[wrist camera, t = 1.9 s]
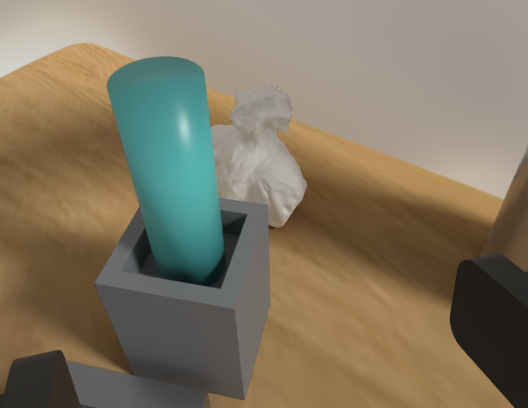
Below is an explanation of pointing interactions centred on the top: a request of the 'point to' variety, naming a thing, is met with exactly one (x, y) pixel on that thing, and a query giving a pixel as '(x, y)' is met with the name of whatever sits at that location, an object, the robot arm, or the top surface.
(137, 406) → the lower socket
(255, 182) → the bust
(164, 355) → the upper socket stand
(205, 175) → the plug
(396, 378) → the top surface
